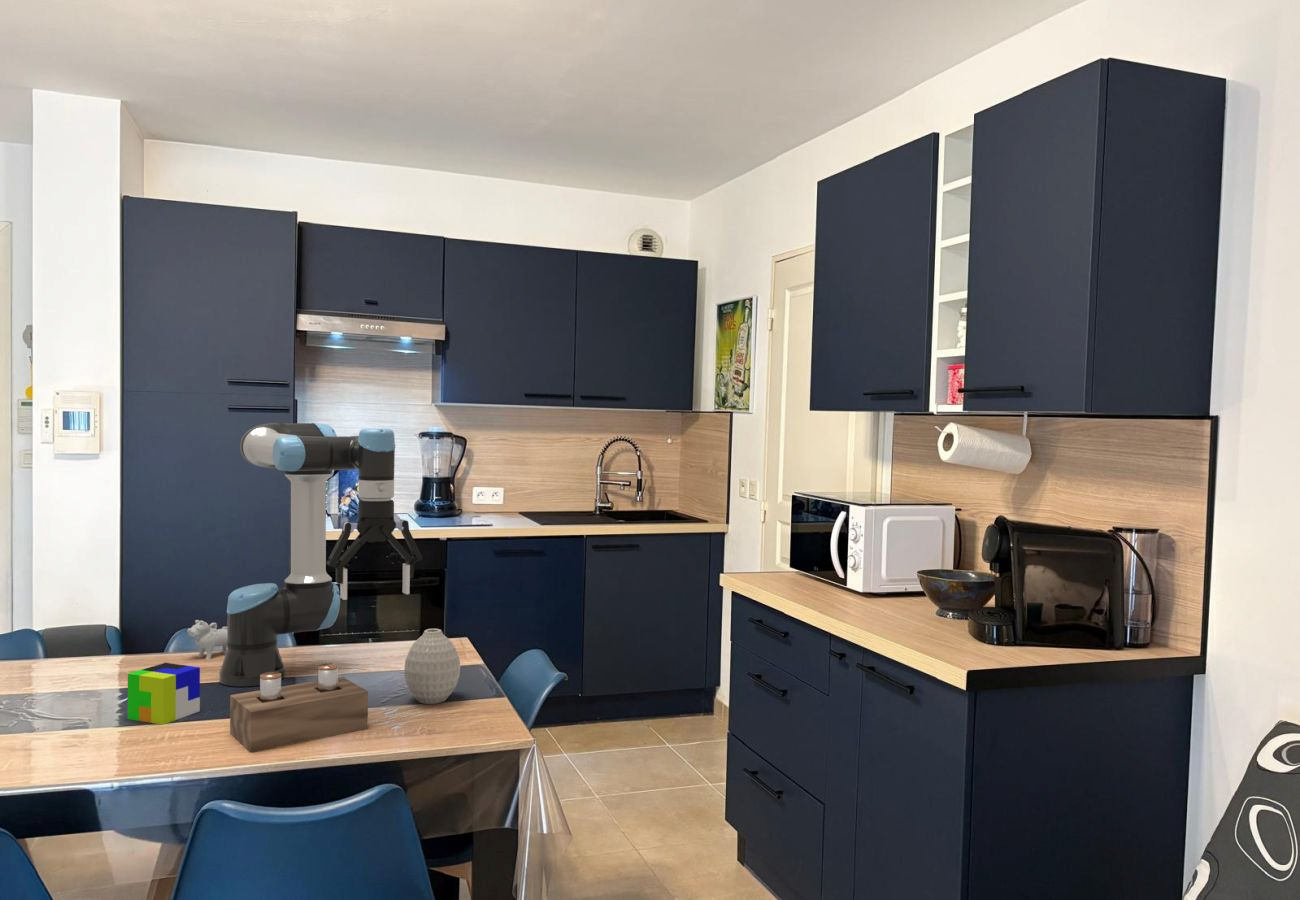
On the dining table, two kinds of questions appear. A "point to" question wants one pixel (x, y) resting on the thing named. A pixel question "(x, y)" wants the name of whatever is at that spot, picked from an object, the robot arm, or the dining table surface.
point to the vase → (432, 667)
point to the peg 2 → (327, 677)
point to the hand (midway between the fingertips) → (375, 596)
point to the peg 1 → (270, 686)
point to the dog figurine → (208, 637)
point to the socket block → (297, 714)
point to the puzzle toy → (163, 693)
